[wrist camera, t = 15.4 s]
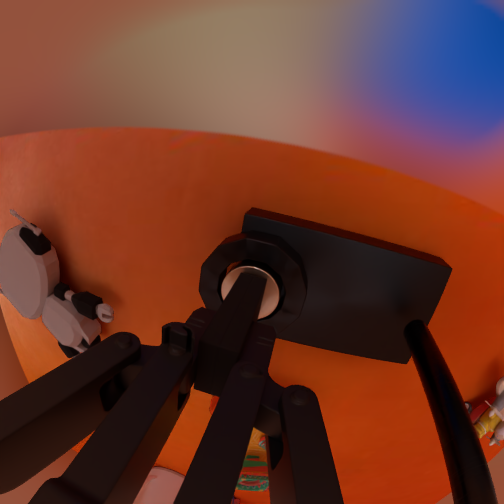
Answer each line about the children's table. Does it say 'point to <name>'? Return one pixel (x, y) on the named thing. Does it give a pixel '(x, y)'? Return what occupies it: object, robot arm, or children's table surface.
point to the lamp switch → (258, 270)
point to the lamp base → (333, 284)
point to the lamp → (450, 420)
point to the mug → (160, 487)
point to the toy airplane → (490, 415)
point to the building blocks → (251, 462)
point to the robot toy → (48, 290)
